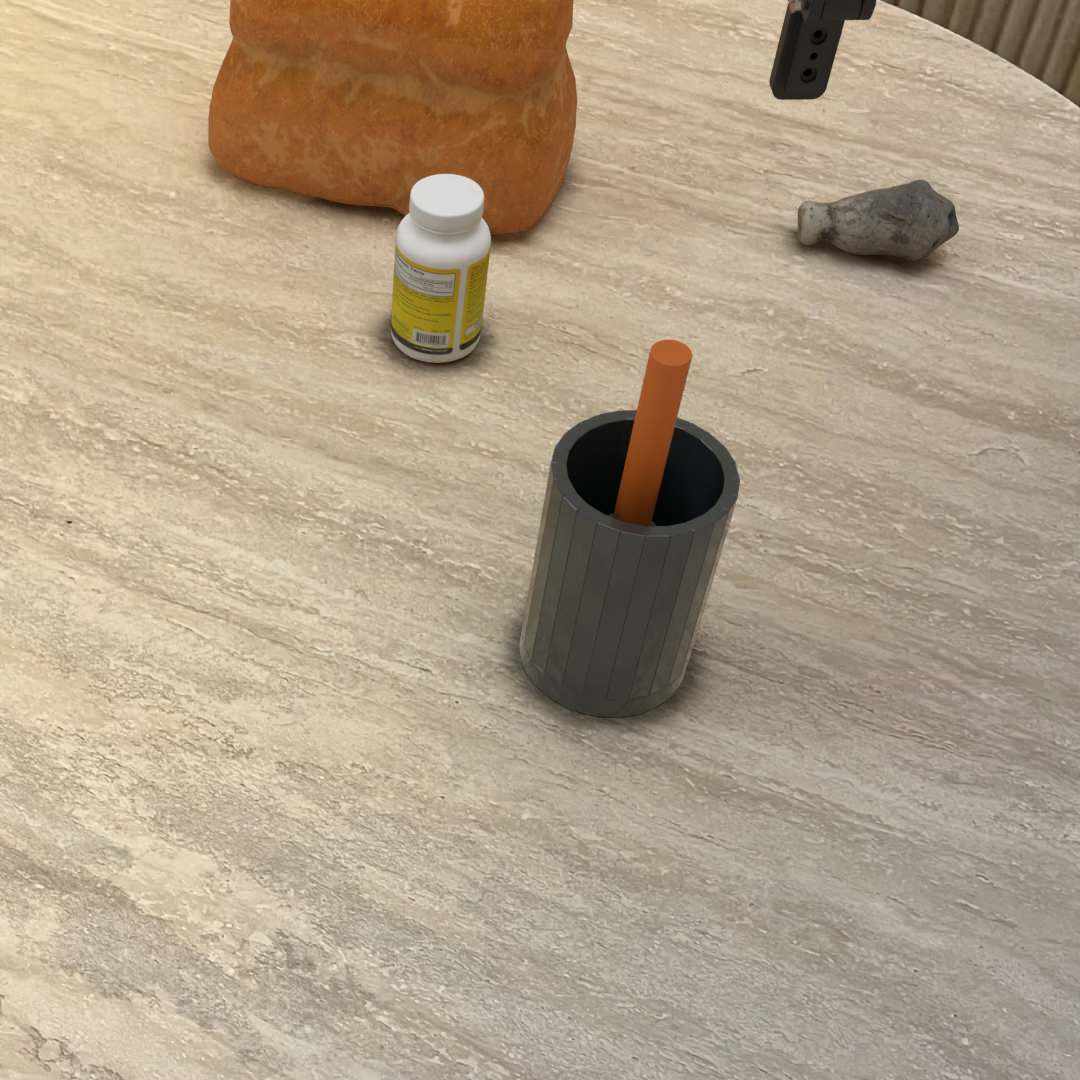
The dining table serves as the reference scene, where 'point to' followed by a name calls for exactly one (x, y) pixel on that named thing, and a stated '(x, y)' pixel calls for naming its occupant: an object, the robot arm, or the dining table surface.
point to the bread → (399, 100)
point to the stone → (882, 221)
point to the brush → (652, 431)
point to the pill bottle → (440, 270)
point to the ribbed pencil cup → (623, 569)
